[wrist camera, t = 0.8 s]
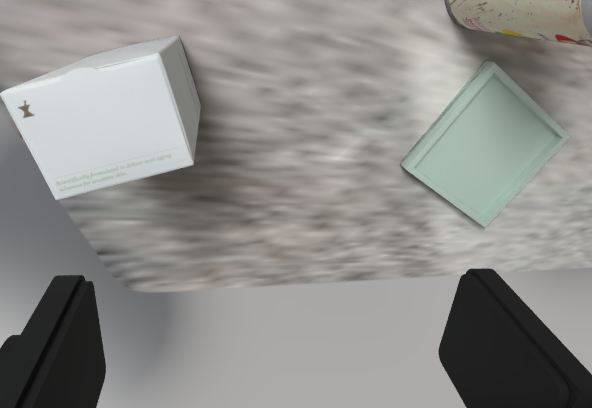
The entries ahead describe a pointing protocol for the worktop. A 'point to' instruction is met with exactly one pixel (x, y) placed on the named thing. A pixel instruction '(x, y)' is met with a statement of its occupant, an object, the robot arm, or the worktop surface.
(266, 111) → the worktop surface
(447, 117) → the tray
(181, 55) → the skincare box
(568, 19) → the aerosol can
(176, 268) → the worktop surface
